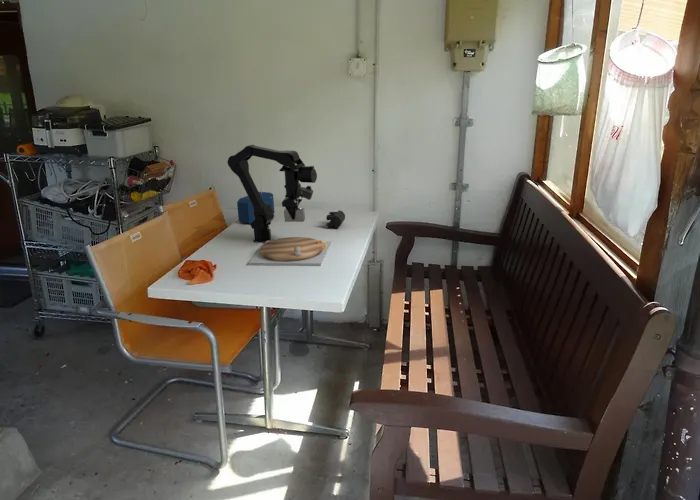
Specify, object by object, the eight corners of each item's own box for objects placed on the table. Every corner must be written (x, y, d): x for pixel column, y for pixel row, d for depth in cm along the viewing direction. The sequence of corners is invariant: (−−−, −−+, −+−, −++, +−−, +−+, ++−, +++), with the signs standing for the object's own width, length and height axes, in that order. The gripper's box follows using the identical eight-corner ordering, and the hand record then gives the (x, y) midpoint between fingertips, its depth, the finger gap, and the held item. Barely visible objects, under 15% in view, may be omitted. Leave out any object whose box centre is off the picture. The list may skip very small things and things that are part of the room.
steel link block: (284, 221, 230) (283, 209, 228) (286, 219, 233) (285, 207, 232) (303, 221, 229) (302, 209, 227) (304, 219, 233) (304, 206, 231)
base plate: (248, 265, 209) (247, 255, 208) (266, 242, 236) (266, 234, 234) (320, 265, 206) (320, 255, 205) (330, 243, 233) (330, 234, 231)
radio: (262, 213, 285) (259, 175, 278) (276, 215, 281) (273, 176, 274) (236, 223, 267) (232, 183, 261) (251, 225, 263) (247, 184, 257)
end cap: (341, 229, 252) (341, 215, 250) (326, 229, 253) (326, 215, 251) (345, 223, 261) (345, 210, 259) (331, 223, 262) (330, 210, 260)
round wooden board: (256, 245, 228) (255, 234, 227) (314, 238, 235) (313, 227, 234) (266, 264, 205) (265, 252, 204) (329, 256, 212) (329, 244, 211)
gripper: (308, 186, 216) (310, 223, 221) (314, 177, 234) (316, 212, 239) (280, 186, 217) (283, 224, 222) (288, 177, 235) (291, 212, 240)
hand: (294, 218), depth 231 cm, fingers closed on steel link block, 4 cm apart
